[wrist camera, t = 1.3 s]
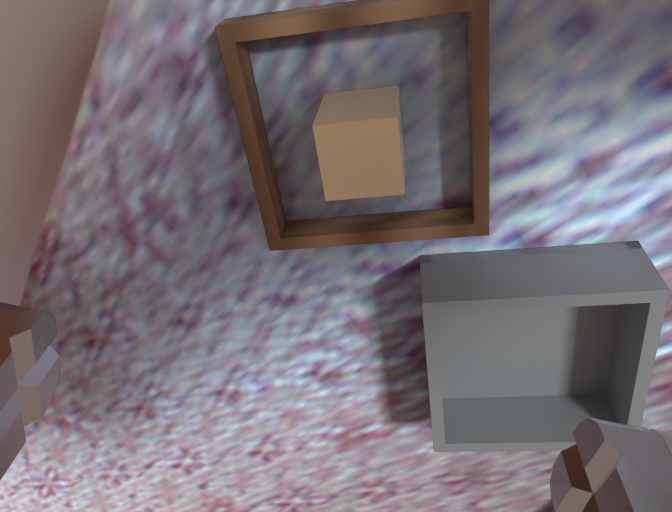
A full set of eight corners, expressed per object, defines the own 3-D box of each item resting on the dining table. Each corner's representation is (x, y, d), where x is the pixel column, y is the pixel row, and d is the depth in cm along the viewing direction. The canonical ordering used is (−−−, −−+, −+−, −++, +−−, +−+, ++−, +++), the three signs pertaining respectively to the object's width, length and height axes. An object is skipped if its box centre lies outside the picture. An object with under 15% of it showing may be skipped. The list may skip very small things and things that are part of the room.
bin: (638, 241, 42) (669, 289, 37) (613, 393, 51) (635, 449, 46) (419, 255, 45) (421, 303, 40) (430, 398, 53) (433, 451, 48)
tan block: (398, 85, 38) (397, 116, 33) (404, 155, 40) (404, 194, 35) (324, 93, 39) (312, 125, 34) (334, 161, 41) (325, 201, 36)
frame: (483, -18, 34) (488, -11, 32) (484, 217, 42) (489, 235, 40) (225, 18, 36) (214, 27, 34) (276, 233, 45) (269, 250, 43)
